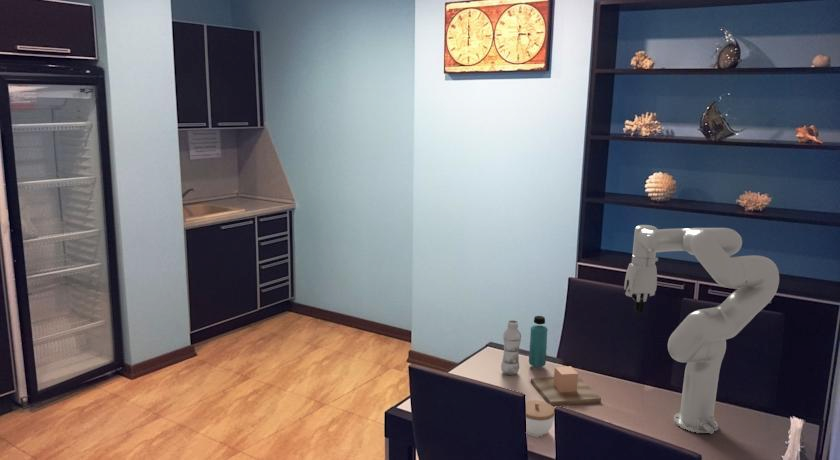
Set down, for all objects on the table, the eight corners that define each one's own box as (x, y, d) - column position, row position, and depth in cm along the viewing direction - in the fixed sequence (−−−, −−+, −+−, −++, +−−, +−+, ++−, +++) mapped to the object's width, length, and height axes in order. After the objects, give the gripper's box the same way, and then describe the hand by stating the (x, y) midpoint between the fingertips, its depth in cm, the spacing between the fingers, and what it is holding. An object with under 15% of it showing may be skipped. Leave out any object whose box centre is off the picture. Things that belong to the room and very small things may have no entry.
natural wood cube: (576, 391, 212) (578, 373, 211) (560, 392, 211) (561, 374, 210) (569, 383, 218) (570, 366, 217) (553, 384, 217) (554, 367, 215)
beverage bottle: (547, 371, 231) (550, 320, 227) (529, 370, 231) (532, 319, 227) (544, 364, 238) (547, 314, 234) (526, 363, 238) (529, 313, 234)
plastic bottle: (497, 371, 230) (500, 320, 226) (512, 368, 233) (515, 318, 229) (506, 378, 224) (509, 326, 220) (522, 375, 227) (525, 323, 223)
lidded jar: (553, 443, 182) (555, 413, 180) (516, 438, 184) (518, 409, 182) (553, 425, 192) (555, 397, 190) (518, 421, 194) (519, 393, 192)
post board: (600, 402, 208) (602, 384, 206) (550, 405, 204) (551, 387, 203) (577, 379, 225) (578, 362, 224) (530, 382, 222) (531, 365, 220)
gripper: (656, 257, 219) (651, 307, 222) (618, 258, 216) (613, 309, 220) (669, 263, 212) (663, 314, 215) (629, 264, 209) (624, 316, 212)
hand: (638, 311), depth 217 cm, fingers closed
